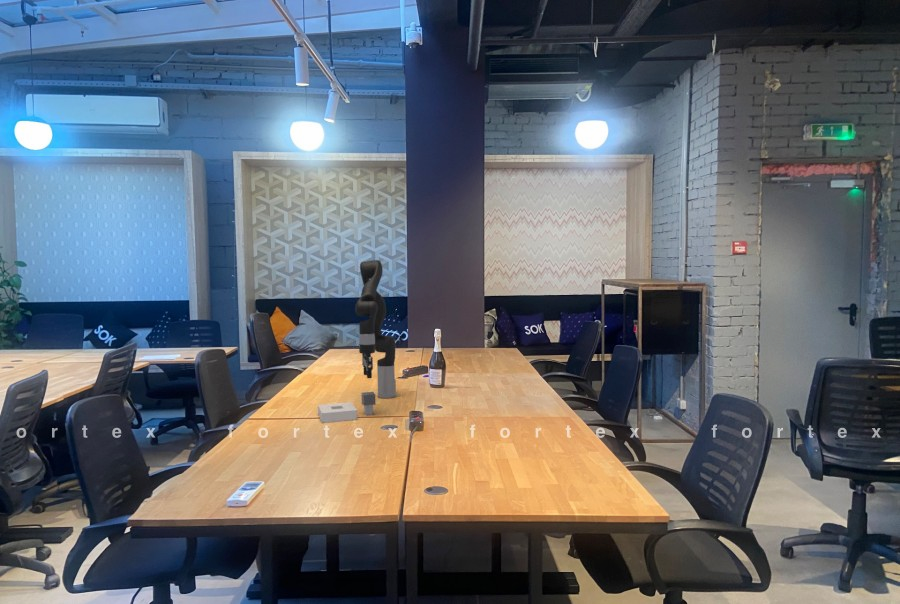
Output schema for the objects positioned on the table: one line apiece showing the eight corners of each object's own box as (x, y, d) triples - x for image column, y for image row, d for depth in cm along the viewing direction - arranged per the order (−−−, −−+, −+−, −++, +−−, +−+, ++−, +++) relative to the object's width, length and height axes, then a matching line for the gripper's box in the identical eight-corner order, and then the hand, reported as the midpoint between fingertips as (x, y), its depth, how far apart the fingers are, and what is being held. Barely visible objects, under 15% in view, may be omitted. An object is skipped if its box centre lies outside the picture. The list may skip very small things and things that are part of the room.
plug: (373, 412, 287) (372, 391, 286) (375, 414, 281) (375, 394, 281) (361, 413, 285) (361, 392, 284) (364, 415, 280) (363, 395, 279)
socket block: (351, 411, 289) (351, 402, 288) (357, 419, 273) (356, 410, 273) (318, 414, 283) (317, 405, 283) (322, 423, 268) (321, 413, 268)
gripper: (377, 344, 275) (378, 378, 276) (372, 340, 289) (372, 373, 290) (361, 345, 273) (362, 379, 274) (356, 341, 286) (357, 374, 287)
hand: (367, 376), depth 282 cm, fingers open, 8 cm apart
